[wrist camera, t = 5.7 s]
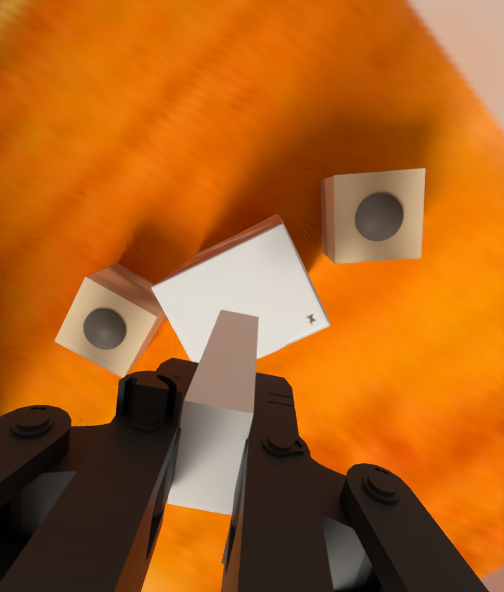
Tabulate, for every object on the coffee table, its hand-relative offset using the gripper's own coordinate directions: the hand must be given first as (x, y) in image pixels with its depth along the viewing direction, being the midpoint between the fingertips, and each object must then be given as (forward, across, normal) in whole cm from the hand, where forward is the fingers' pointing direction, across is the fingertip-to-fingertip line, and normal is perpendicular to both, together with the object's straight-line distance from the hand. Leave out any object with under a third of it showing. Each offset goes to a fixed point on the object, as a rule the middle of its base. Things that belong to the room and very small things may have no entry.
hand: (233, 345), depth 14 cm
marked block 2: (+18, +8, +6) cm, 21 cm away
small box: (+18, 0, 0) cm, 18 cm away
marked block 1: (+18, -10, -6) cm, 22 cm away
